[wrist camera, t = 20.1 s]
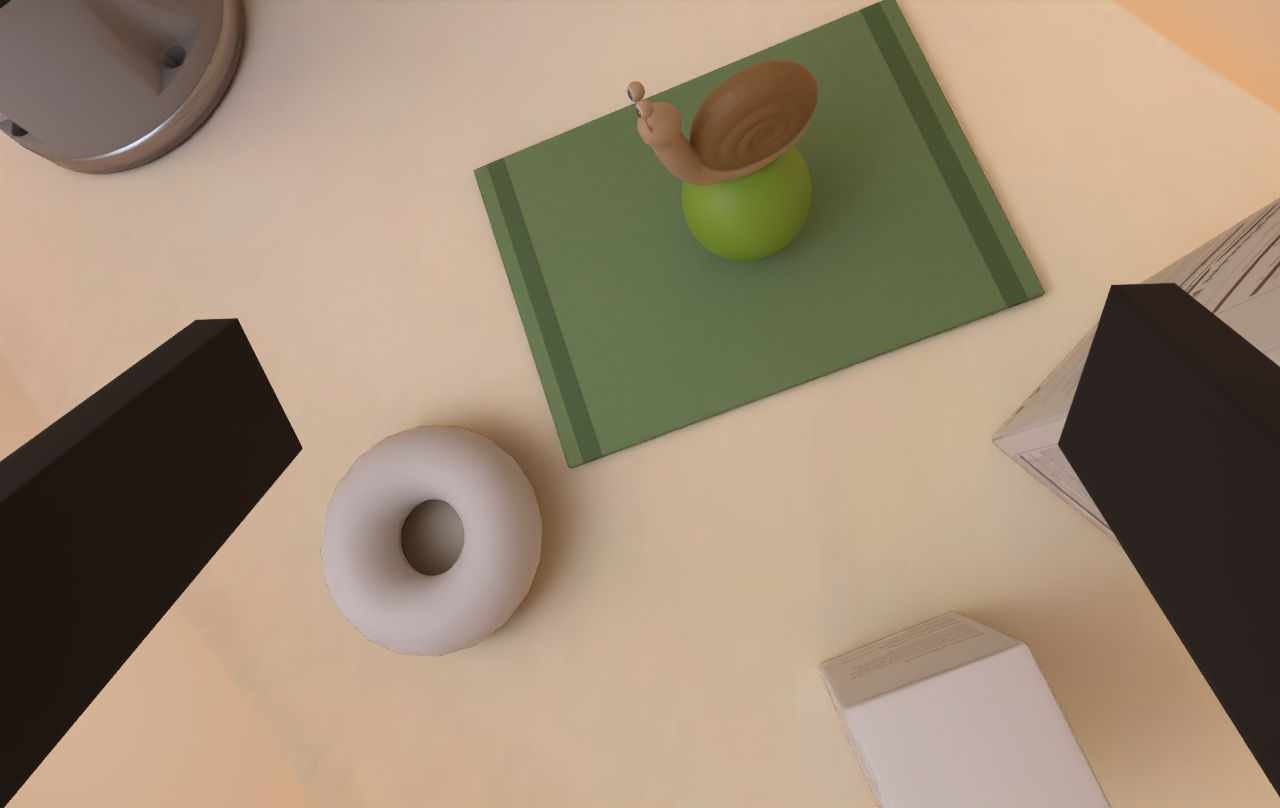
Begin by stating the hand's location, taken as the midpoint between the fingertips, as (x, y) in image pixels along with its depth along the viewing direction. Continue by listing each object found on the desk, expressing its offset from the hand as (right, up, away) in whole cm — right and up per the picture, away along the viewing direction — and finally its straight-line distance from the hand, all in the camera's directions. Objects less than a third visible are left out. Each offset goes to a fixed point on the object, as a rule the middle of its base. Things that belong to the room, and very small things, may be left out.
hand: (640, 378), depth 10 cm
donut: (-9, -7, +20) cm, 23 cm away
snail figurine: (+5, +8, +20) cm, 22 cm away
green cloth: (+5, +8, +21) cm, 23 cm away
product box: (+11, -13, +16) cm, 23 cm away
